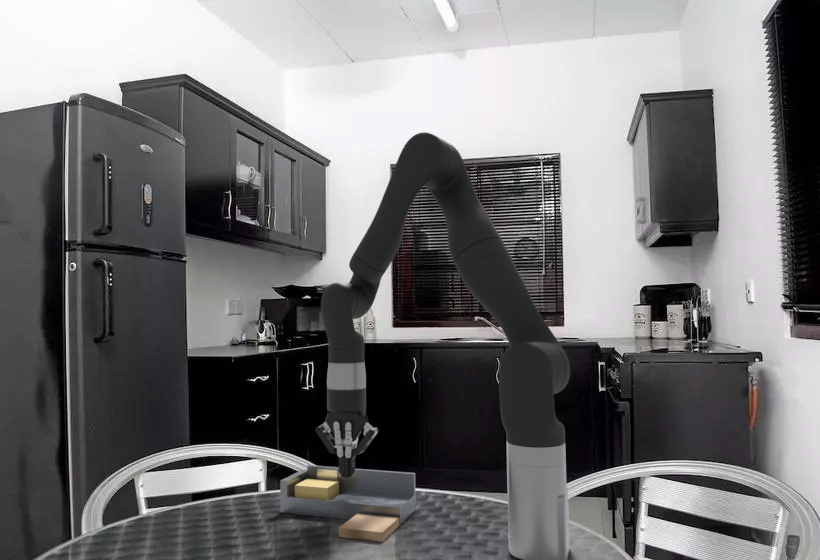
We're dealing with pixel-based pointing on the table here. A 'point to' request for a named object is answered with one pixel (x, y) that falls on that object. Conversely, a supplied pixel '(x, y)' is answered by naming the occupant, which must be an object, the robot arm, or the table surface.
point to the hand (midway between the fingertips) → (346, 476)
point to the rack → (353, 494)
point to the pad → (369, 527)
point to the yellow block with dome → (317, 489)
